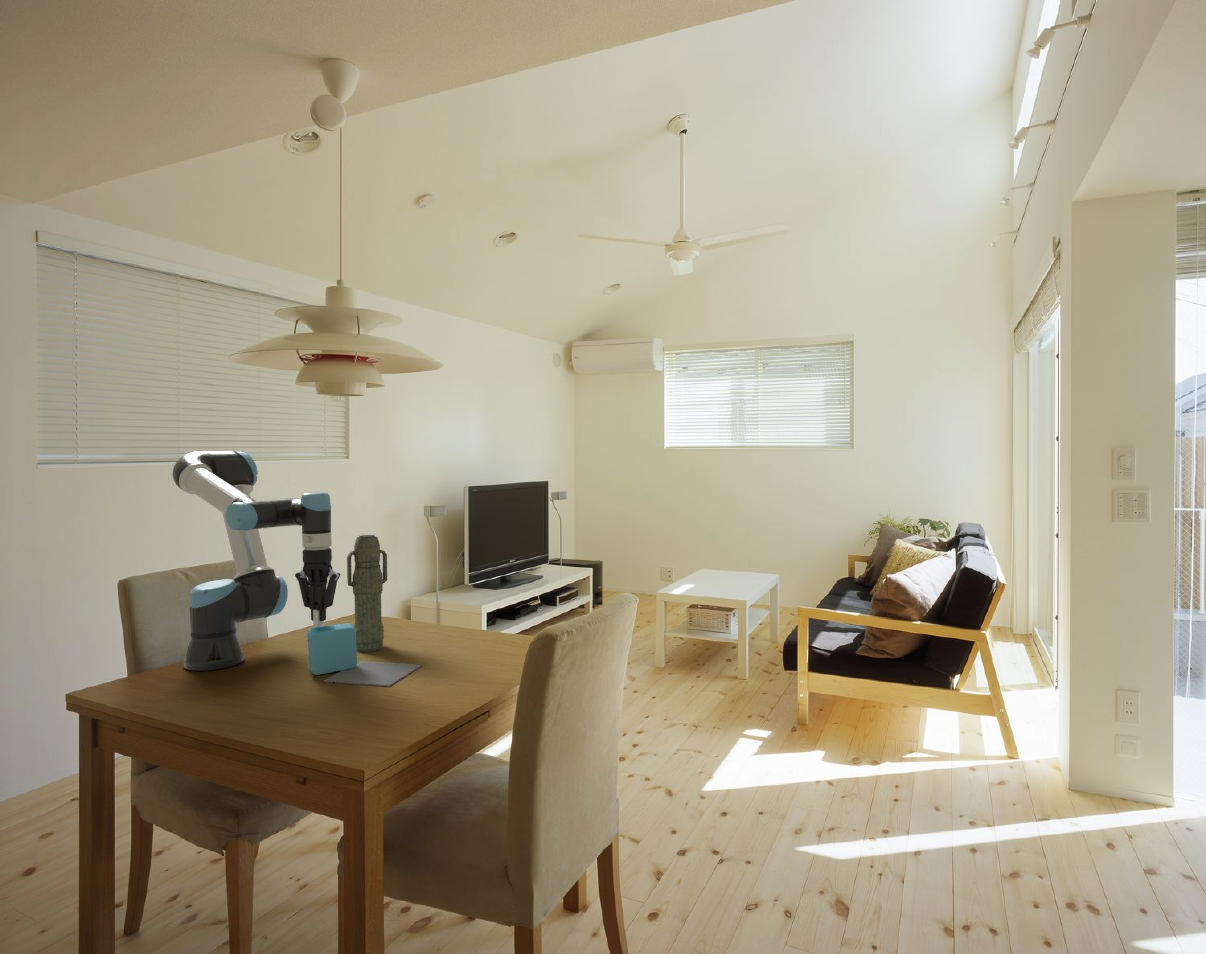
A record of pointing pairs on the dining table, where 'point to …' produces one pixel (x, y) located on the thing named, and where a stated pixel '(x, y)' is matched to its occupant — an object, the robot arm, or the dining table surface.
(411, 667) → the mat
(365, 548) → the thermos
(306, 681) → the dining table surface
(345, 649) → the blue flat block
